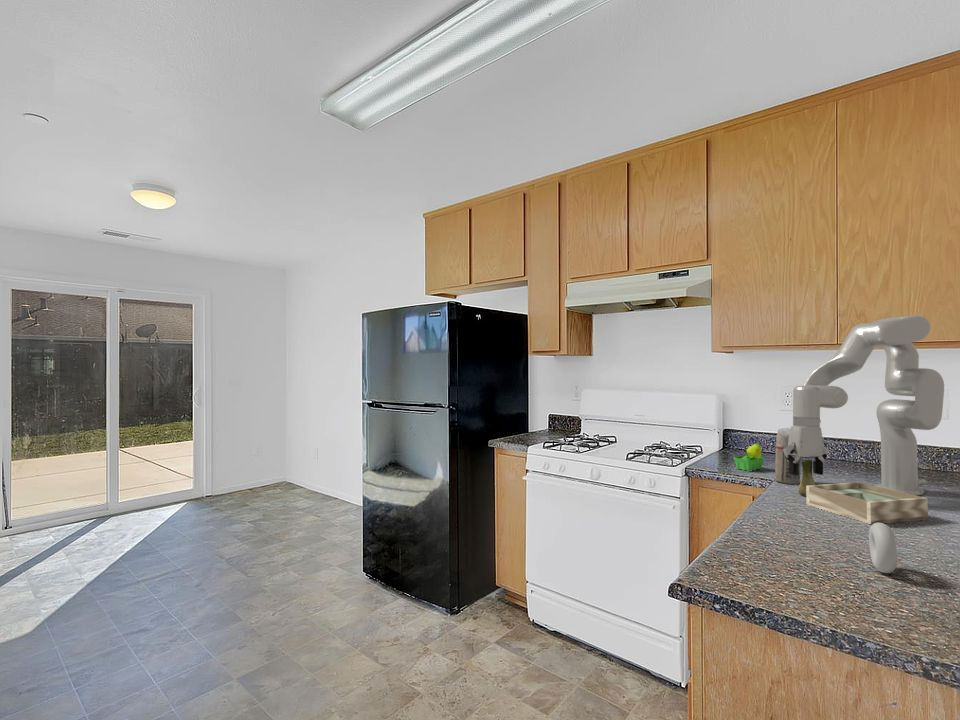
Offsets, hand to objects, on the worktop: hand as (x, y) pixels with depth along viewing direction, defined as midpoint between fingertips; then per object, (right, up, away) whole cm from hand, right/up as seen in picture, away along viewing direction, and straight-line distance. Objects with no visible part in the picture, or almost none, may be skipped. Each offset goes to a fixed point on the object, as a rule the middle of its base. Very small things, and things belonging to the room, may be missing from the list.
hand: (805, 474), depth 163 cm
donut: (-25, -6, -61) cm, 66 cm away
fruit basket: (+5, -8, +43) cm, 44 cm away
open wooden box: (+5, -7, -19) cm, 20 cm away
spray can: (+6, -8, +20) cm, 22 cm away
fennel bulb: (+1, -8, 0) cm, 8 cm away
